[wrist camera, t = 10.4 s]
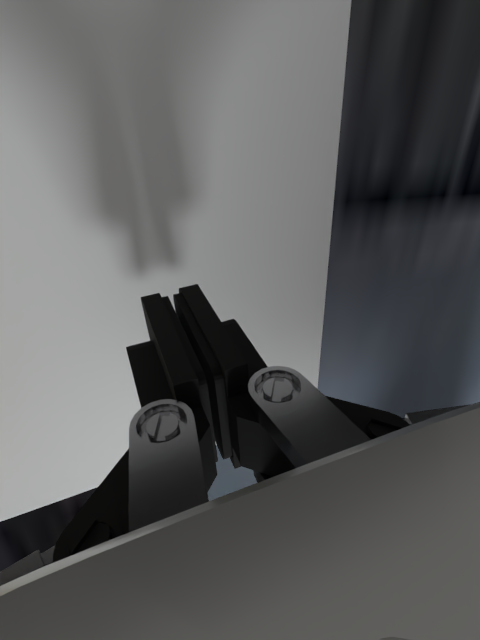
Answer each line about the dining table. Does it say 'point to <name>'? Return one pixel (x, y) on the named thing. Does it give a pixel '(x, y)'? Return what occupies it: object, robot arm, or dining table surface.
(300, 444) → the robot arm
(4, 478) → the overhang dock
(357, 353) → the dining table surface
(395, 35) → the dining table surface
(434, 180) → the dining table surface
